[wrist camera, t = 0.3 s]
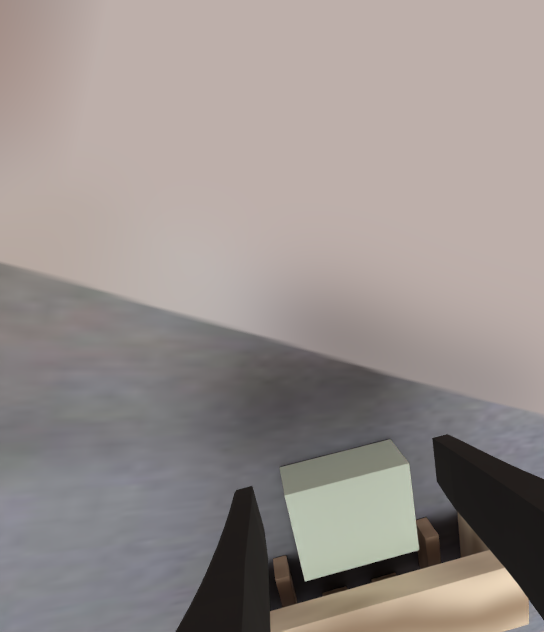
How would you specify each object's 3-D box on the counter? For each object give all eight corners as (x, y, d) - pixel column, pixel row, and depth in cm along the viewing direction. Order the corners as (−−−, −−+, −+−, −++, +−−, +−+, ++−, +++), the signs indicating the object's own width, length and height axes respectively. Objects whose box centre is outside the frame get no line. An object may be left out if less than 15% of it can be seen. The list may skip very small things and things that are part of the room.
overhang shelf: (478, 559, 25) (528, 623, 21) (236, 626, 24) (236, 710, 20) (475, 504, 24) (528, 561, 20) (219, 573, 23) (215, 649, 19)
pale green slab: (400, 518, 24) (419, 549, 21) (297, 546, 23) (304, 581, 21) (390, 439, 22) (409, 463, 20) (279, 467, 22) (284, 495, 19)
